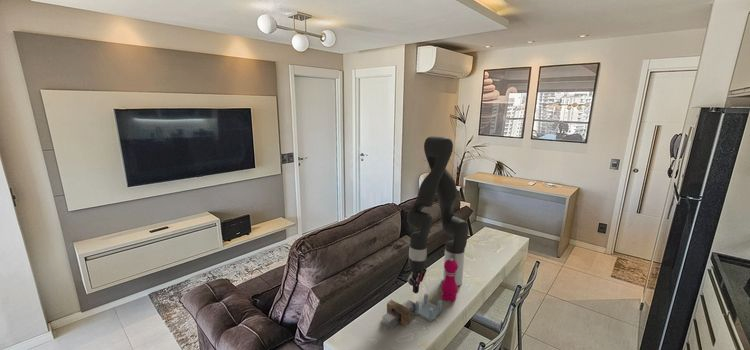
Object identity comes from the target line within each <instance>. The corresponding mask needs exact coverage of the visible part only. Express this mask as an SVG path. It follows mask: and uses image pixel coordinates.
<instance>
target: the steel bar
mask: <svg viewBox="0 0 750 350" xmlns="http://www.w3.org/2000/svg"><path fill="white" fill-rule="evenodd" d="M415 303H416V302H414V301H412V300H410V299H408V300H406V301H405V302H403V303H402V304H401V305H403V306H405V307H407V308H409V309H410V316H411V315H413V314H415V313H414V312H415ZM381 321H382V323H381V324H382V325H383V326H384V327H385V328H387V329H388V330H391V329H392V328H394V327H395V326H397V325H398V324H401V312H399V311H397V310H395V309H393V310H392V311H390V312H389V313H387V312H386V313H385V314H384V315H383V316H382V320H381Z"/></svg>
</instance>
